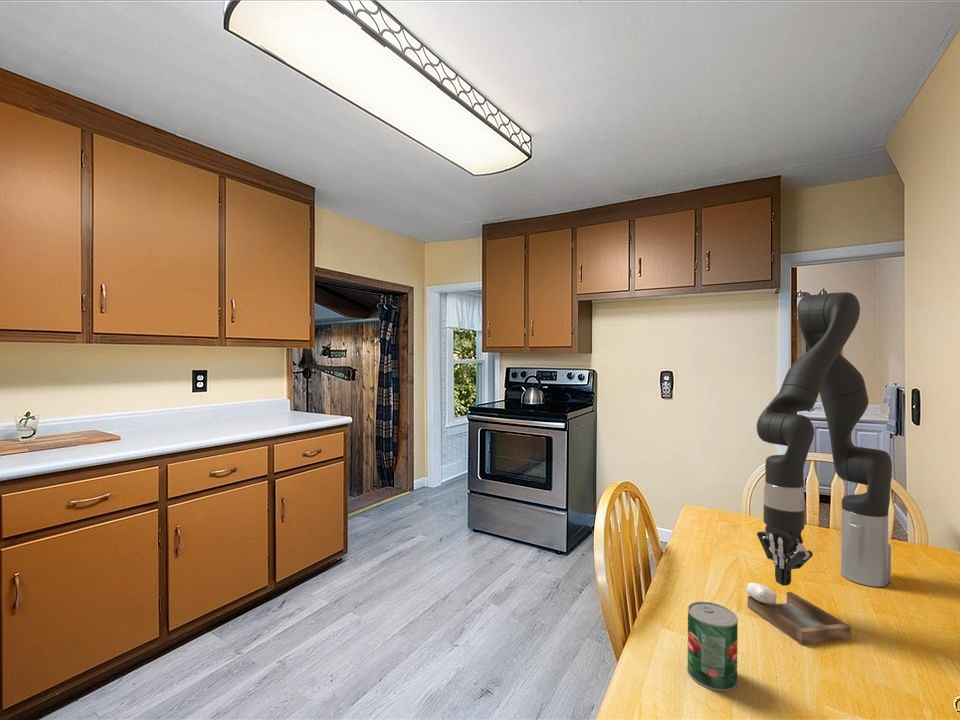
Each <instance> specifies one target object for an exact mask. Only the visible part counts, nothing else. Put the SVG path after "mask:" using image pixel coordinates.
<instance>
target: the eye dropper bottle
mask: <svg viewBox="0 0 960 720" xmlns="http://www.w3.org/2000/svg"><path fill="white" fill-rule="evenodd" d="M745 591H746V593H747V594H748V596H751V597H753V598H754V599H756V600H758V601H760V602H763V603H764V604H766V605H774V604H775V603H776V602H777V598H778V597H777V593H775V592H774V591H773V590H771V588H769V587H767V586H765V585H763V584H761V583H758V582H749V583H747V585H746V590H745Z"/></svg>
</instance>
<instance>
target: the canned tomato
mask: <svg viewBox="0 0 960 720" xmlns="http://www.w3.org/2000/svg"><path fill="white" fill-rule="evenodd" d="M738 622H739V619H738V616H737V615H736V613H735V612H734V611H732V610H731V609H729V608H728V607H725V606H724V605H721V604H718V603H714V602H709V601H695V602H691V603H690V604H689V605H688V607H687V666H686V667H687V668H686V670H687V673H688V675H689V676H690V678H691V679H692V680H693V681H694V682H695V683H697V684H698V685H700V686H702V687H704V688H705V689H709V690H712V691H716V692H731V691H733V690H735V689H736V688H737V686H738V643H739V642H738V624H739V623H738Z"/></svg>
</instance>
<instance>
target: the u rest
mask: <svg viewBox="0 0 960 720" xmlns="http://www.w3.org/2000/svg"><path fill="white" fill-rule="evenodd" d="M747 609H749V610H751V611H753V612H754V613H755V614H756V615H758V616H759V617H761V618H762V619H764V620H765V621H766V622H768V623H769V624H771V626H772V625H773V627H775V628H776V629H778V630H779V631H781V632H783V633H784V634H785V635H787V637H789V638H791V639H792V640H794V641H795V642H797V643H798V644H800V645H801V646H805V645H806V646H807V645H814V644H822V643H831V642H839V641H846V640H848V641H849V640H851V639H852V627H851V625H849V624H847V623H846V622H844V621H842V620H841V619H839V618H837V617H835V616H834V615H832V614H830V613H828V612H827V611H825V610H823V609H822V608H820V607H819V606H816V605H814V604H813V603H811V602H809V601H808V600H807V599H804V598H803V597H801V596H799V595H798V594H796V593H794V592H792V591H787V592H786V602H785V603H776V604H775V603H774V604H766V603H763V602H760V601H758V600H756V599H754V598H753V597H751V596H750V595H747Z"/></svg>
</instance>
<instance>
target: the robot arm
mask: <svg viewBox="0 0 960 720" xmlns="http://www.w3.org/2000/svg"><path fill="white" fill-rule="evenodd" d="M796 309H797V310H796V312H797V313H796V315H797V322H798V325H799V328H800V331H801V334H802V337H803V339H804V343H805V345H806V347H807V351H806V352H805V353H804V354H802V355H801V356H800V357H799V358H798V359H796V360H795V361H794V362H793V363H792V364H791V366H790V368H788V370H787V372H786V375H785V378H784V379H783V381H782V384H781V387H780V389H779V392H778V393H777V394H776V395H775V397H774V398H773V399H772V400H771V401H770V402H769V403H768V405H767V406H765V408H764V410H763V411H762V412H761V414H760V416H758V419H757V422H756V433H757V435H758V437H759V439H760V440H761V441H763V442H765V443H768V444H773V445H779V446H786V447H787V448H786V451H785V452H784V454H772V455H769V456H768V457H767V458H766V459H765V478H764V479H765V480H764V481H765V482H764V488H763V517H762V518H763V523H764V524H765V528H764V530H762V531H757V532H756V536H757V538H758V540H759V542H760V545H761V547H762V550H763V551H764V553H765V555H766V559H768V560H771V561H772V563H773V565H774V578H775V583H776V584H779V585H781V586H790V584H791V583H792V570H800V569H801V568H802V567H803V566H804V565H805V564H806V563H807V562H808V561H809V560H810V559H811V558H812V557H813V552H812V551H811V550H807V549H806V548H805V546H804V545H803V543H804V540H803V536H802V531H804V529H805V511H806V510H805V500H806V499H805V491H804V490H805V489H804V469H805V463H806V461H807V458H808V455H809V451H810V448H811V445H812V443H813V440H814V438H815V437H814V436H815V426H814V425H813V424H814V423H813V422H812V421H811V420H810V418H809V417H807V416H805V415H802V414H795V413H798V412H804V411H805V412H806V411H809V410H811V409H813V408H814V406H815V404H816V402H817V400H818V397H820V400H821V403H822V407H823V411H824V415H825V419H826V422H827V427H828V433H829V439H830V445H831V446H830V447H831V454H832V461H833V462H832V463H833V466H834V470H835V473H836V475H837V476H838V477H839V479H841V480H843V481H846V482H851V483H856V484H860V485H864V486H867V490H866V492H864V493H859V494H847V495H844V496H842V498H841V541H840V543H841V547H840V550H841V551H840V553H841V556H840V574H841V576H842V577H843V578H845V579H846V580H849V581H850V582H851V581H852V582H854V583H856V584H860V585H862V586H863V585H864V586H868V587H874V588H875V587H877V588H879V587H880V588H881V587H882V588H883V587H887V586H888V585H889V583H888V582H890V583H891V580H892V579H891V578H892V577H891V575H892V572H891V571H892V545H891V544H890V543H889V509H890V508H889V507H890V503H891V502H890V501H891V485H892V475H893V474H892V473H893V462H892V458H891V456H890V454H889V453H888V452H887V451H886V450H881V449H877V448H869V447H863V446H855V445H854V444H853V442H852V441H853V440H852V432H853V430H854V429H855V427H856V425H857V424H858V422H859V421H860V419H861V418H862V417H863V416H864V414H865V412H866V411H867V409H868V405H869V396H868V391H867V387H866V383H865V380H864V376H863V375H862V374H861V372H860V371H859V370H858V369H857V368H856V367H855V366H854V365H853V364H852V363H851V362H850V361H849V360H848V359H846V357H845V356H844V355H842V354H841V351H842V350H843V348H844V346H845V344H846V343H847V341H848V340H849V339H850V337H851V335H852V334H853V332H854V330H855V329H856V326H857V323H858V322H859V320H860V314H861V305H860V302H859V299H858V298H857V296H856V295H855V294H853V293H852V292H847V291H846V292H844V291H841V292H830V293H820V294H812V295H810V294H809V295H806V296H803V297H802V298H801V299H800V300H799V301H798V303H797V308H796ZM886 585H887V586H886Z"/></svg>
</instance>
